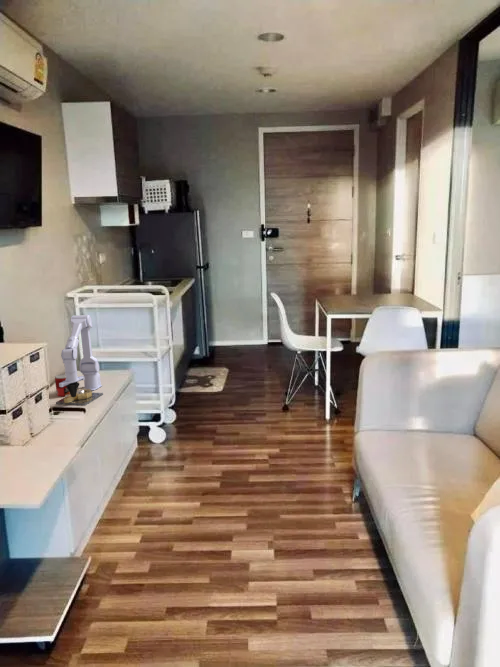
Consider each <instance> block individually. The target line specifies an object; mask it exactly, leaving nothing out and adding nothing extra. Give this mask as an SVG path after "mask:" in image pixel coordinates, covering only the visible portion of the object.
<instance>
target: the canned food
mask: <svg viewBox="0 0 500 667" xmlns="http://www.w3.org/2000/svg"><path fill="white" fill-rule="evenodd" d="M65 380H66V375H65V373H62V374H56V375H55V376H54V382H55V391H56V396H57V397H60V398H65V395H70V394H69V390H68V388H67V387H66V386H63V387H59V383H61V382H63V381H65Z"/></svg>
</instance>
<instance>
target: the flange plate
mask: <svg viewBox="0 0 500 667" xmlns="http://www.w3.org/2000/svg"><path fill="white" fill-rule="evenodd" d="M81 393H85V392H84V390H78V389H77V394H81ZM103 395H104V393H103V392H92V396H91V397H89V398H86V399H80V400H74V401H72V402H69V403H64V398H66V397H68V396H70V395H65V397H62V398H61V399H59V400H57V401H56V402H55V404H56V405H67V406H68V405H69V406H70V405H72V406H87V405H88V404H90V403H91V402H93V401H95V400H97V399H98V398H100V397H102V396H103Z"/></svg>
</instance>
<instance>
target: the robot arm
mask: <svg viewBox="0 0 500 667" xmlns="http://www.w3.org/2000/svg"><path fill="white" fill-rule="evenodd" d="M70 325H71V327H72V328H71V333H70V336H69V337H67V340H66V343H65V347H64V349H62V350H61V353H60V355H61V356H60V358H61V360H62V363H63V364H64V374H65V375H66V380H65V381H63V382H61V383H59V387H63V386H66V387H67V388H68V390H69V392H70V394H71V397H76V393H77V390H78V389H79V386H80V382H81V381H83V382H84V387H83V388H82V389H91V391H96V390H98V389H99V388H102V387H103V385H102V382H101V374H100V373H99V372H100V364H99V358H97V357H95V356H93V348H92V340H91V339H92V338H91V329H92V328H93V322H92V317H91V315H90V314H83V315H82V314H79V315H74V314H73V315H72V316H71V317H70ZM79 336H80V337H81V345H82V355H83V356H82V358H81V359H80V360H79V366H77V358H78V346H79V343H80V340H79V339H78V338H79ZM77 367H78V368H79V369H78V368H77ZM77 369H78V370H79V372H80V373H81V376H78V370H77Z"/></svg>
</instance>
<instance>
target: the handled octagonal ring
mask: <svg viewBox="0 0 500 667" xmlns="http://www.w3.org/2000/svg"><path fill="white" fill-rule="evenodd" d="M77 390H84V392H85V393H81V394H77V393H76V397H71V394H70V392H69V394H70V396H68V397H66V398H65V397H63V398H64V403H69V402H72V401H74V400H80V399H86V398H89V397H91V396H92V393H93V390H91V389H83V388H80V389H79V388H78V389H77Z"/></svg>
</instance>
